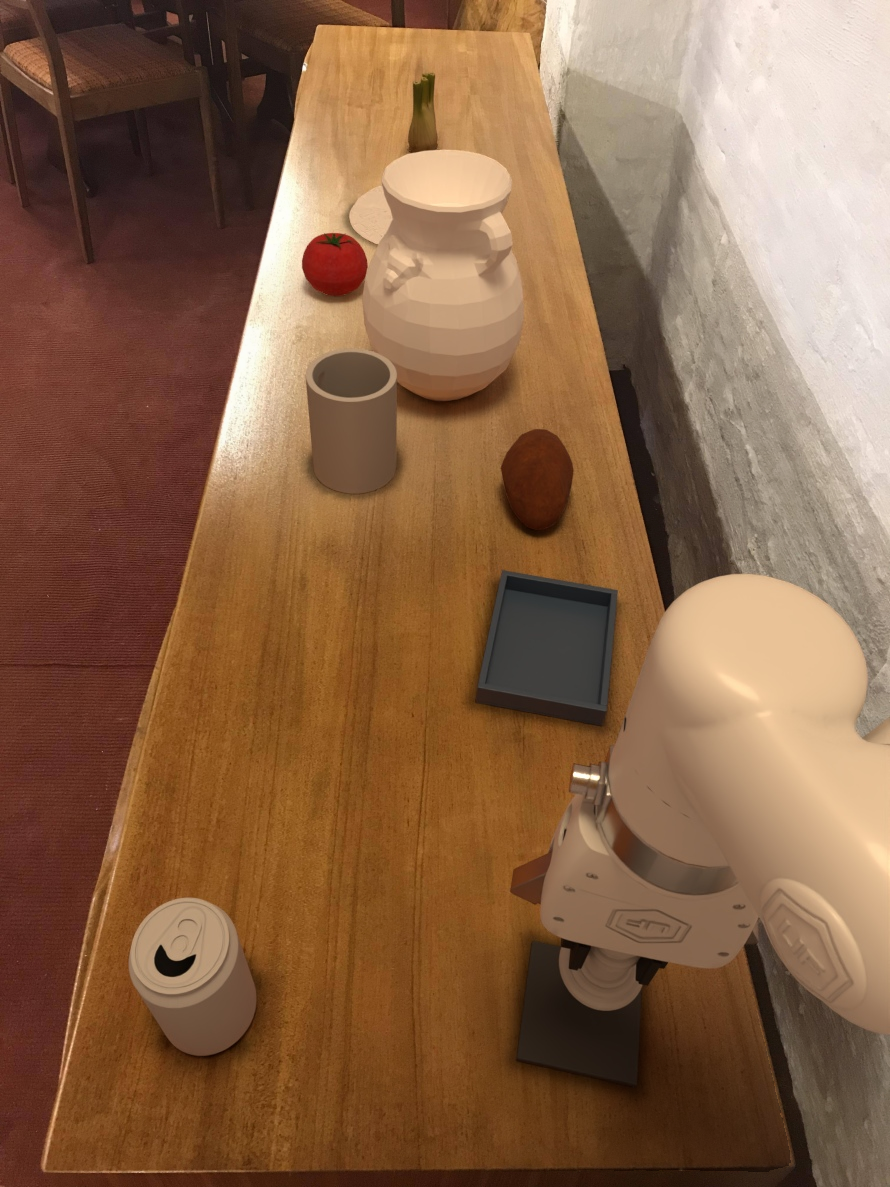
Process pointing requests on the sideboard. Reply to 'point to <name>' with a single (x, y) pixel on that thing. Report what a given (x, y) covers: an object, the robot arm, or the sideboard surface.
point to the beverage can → (193, 975)
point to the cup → (353, 419)
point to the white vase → (445, 275)
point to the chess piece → (602, 978)
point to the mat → (575, 1026)
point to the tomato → (334, 264)
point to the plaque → (371, 215)
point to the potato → (537, 478)
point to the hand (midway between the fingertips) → (609, 951)
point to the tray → (549, 648)
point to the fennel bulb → (423, 116)
